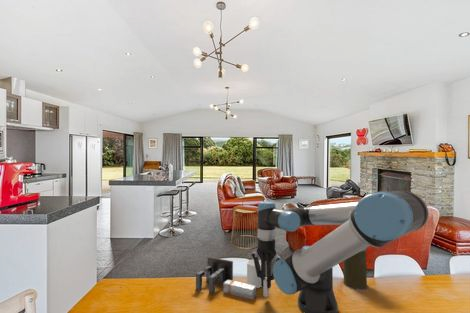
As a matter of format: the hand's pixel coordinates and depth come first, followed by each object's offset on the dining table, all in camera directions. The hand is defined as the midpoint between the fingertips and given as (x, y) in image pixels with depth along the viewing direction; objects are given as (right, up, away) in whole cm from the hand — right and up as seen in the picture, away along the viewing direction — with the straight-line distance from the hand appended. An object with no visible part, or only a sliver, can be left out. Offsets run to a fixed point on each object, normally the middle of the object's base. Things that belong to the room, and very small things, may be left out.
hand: (266, 295), depth 101 cm
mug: (-3, -3, +16) cm, 16 cm away
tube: (-11, -2, +5) cm, 12 cm away
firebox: (-24, -3, +13) cm, 27 cm away
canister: (+45, -3, +15) cm, 48 cm away
